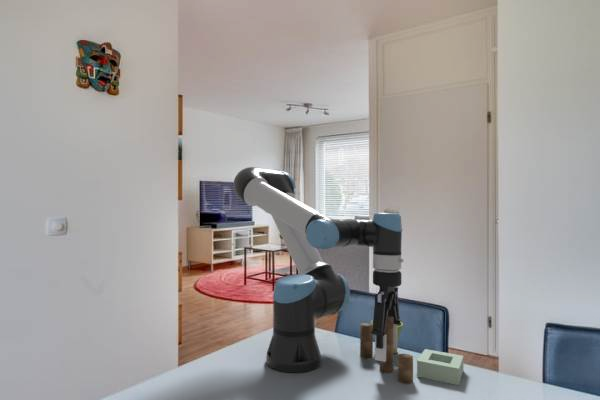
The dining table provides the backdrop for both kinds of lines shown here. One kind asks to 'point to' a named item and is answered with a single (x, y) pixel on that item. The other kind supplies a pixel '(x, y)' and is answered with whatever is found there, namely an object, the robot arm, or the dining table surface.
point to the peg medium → (366, 340)
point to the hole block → (440, 366)
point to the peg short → (405, 368)
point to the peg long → (388, 346)
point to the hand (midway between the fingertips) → (386, 353)
